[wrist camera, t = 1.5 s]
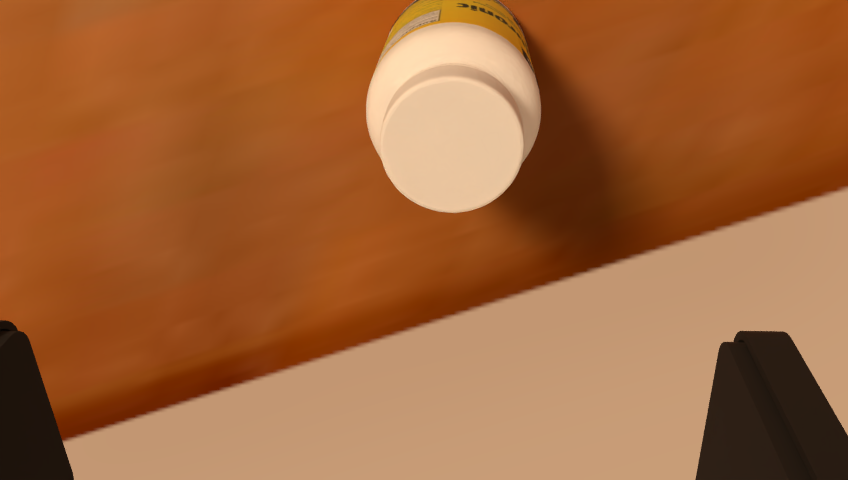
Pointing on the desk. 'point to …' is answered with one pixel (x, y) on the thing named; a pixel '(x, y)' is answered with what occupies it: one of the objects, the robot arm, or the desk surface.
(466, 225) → the desk surface
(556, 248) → the desk surface
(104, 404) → the desk surface
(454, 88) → the supplement bottle
